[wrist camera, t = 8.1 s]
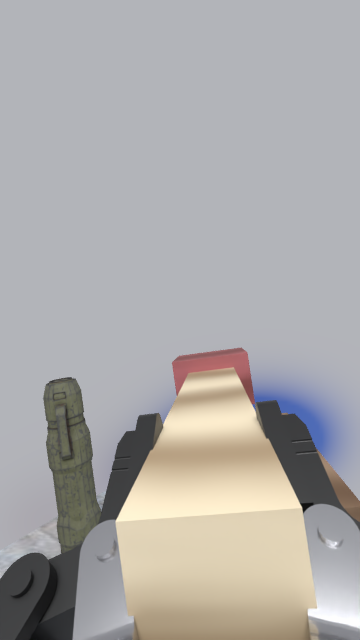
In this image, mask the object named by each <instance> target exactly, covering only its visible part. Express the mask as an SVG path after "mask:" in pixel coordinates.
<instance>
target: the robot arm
mask: <svg viewBox="0 0 360 640" xmlns="http://www.w3.org/2000/svg"><path fill="white" fill-rule="evenodd" d="M255 407H256V418H257V420H258V422H259V424H260V426H261V428H262V430H263V433H264V435H265V437H266V439H269V441H270V443H271V445H272V447H273V449H274V451H275V453H276V455H277V457H278V459H279V461H280V463H281V465H282V468H283V470H284V472H285V474H286V476H287V478H288V480H289V482H290V484H291V486H292V488H293V490H294V492H295V494H296V496H297V498H298V500H299V503H300V505H301V507H302V510H303V517H304V524H305V530H306V537H307V543H308V550H309V556H310V563H311V570H312V576H313V583H314V589H315V596H316V602H317V609H308V635H309V640H360V522H359V521H357V520H356V519H355V518H353V517H352V516H351V515H350V514H349V513H348V512H347V511H346V510H345V509H344V508H343V506H342V505H341V503H340V502H339V500H338V498H337V495H336V493H335V491H334V488H333V486H332V484H331V482H330V479H329V477H328V475H327V472H326V470H325V468H324V466H323V463H322V461H321V459H320V456H319V454H318V453H317V449H316V447H315V445H314V443H313V441H312V438H311V436H310V433H309V431H308V429H307V427H306V425H305V424H304V423H303V422H302V421H301V420H300V419H299V418H298V417H297V416H296V415H295V414H287V415H282V414H281V411H280V408H279V405H278V403H277V401H276V400H273V401H264V402H256V404H255ZM162 429H163V424H162V420H161V417H160V414H159V413H155V414H147V415H140V416H139V417H138V420H137V425H136V430H135V431H127V432H126V433H125V434H124V436H123V437H122V439H121V440H120V442H119V443H118V446H117V450H116V454H115V461H114V463H113V466H112V472H111V475H110V479H109V483H108V487H107V491H106V495H105V499H104V504H103V508H102V512H101V516H100V519H99V522H98V524H97V526H96V527H94V528H93V529H92V530H91V531H90V532H89V534H88V535H87V537H86V538H85V540H84V542H83V543H82V544H80V545H79V546H77V547H75V548H73V549H71V550H69V551H67V552H65V553H62V554H60V555H58V556H56V557H54V558H51V559H49V560H48V559H47V558H46V557H45V556H44V555H43V554H40V553H30V554H27V555H25V556H23V557H21V558H20V559H18V560H17V561H16V562H14V563H13V564H12V565H11V566H10V567H9V568H8V570H7V571H6V572H5V573H4V575H3V576H2V578H1V579H0V640H140V639H139V635H138V631H137V627H136V623H135V618H134V616H128V612H127V604H126V597H125V590H124V582H123V575H122V567H121V560H120V552H119V545H118V537H117V530H116V520H117V518H118V516H119V514H120V512H121V510H122V507H123V505H124V503H125V501H126V499H127V497H128V495H129V493H130V491H131V489H132V487H133V485H134V483H135V481H136V479H137V477H138V475H139V473H140V471H141V469H142V467H143V465H144V463H145V461H146V459H147V457H148V455H149V453H150V451H151V450H153V448H154V446H155V444H156V442H157V440H158V438H159V435H160V433H161V431H162Z"/></svg>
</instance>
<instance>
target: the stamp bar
mask: <svg viewBox="0 0 360 640" xmlns="http://www.w3.org/2000/svg"><path fill="white" fill-rule="evenodd" d="M172 365H173V372H174V379H175V386H176V393H177V398H176V400H175V402H174V404H173V406H172V408H171V410H170V412H169V414H168V416H167V418H166V420H165V422H164V424H163V429H162V431H161V433H160V435H159V438H158V440H157V442H156V444H155V446H154V448H153V450H151V451H150V453H149V455H148V457H147V459H146V461H145V463H144V465H143V467H142V469H141V471H140V473H139V475H138V477H137V479H136V481H135V483H134V485H133V487H132V489H131V491H130V493H129V495H128V497H127V499H126V501H125V503H124V505H123V507H122V510H121V512H120V514H119V516H118V518H117V520H116V530H117V537H118V545H119V552H120V560H121V567H122V575H123V582H124V590H125V597H126V604H127V612H128V616H134V618H135V623H136V627H137V631H138V635H139V639H140V640H309V635H308V609H317V602H316V596H315V589H314V583H313V576H312V570H311V563H310V556H309V550H308V543H307V537H306V530H305V524H304V517H303V510H302V507H301V505H300V503H299V500H298V498H297V496H296V494H295V492H294V490H293V488H292V486H291V484H290V482H289V480H288V478H287V476H286V474H285V472H284V470H283V468H282V465H281V463H280V461H279V459H278V457H277V455H276V453H275V451H274V449H273V447H272V445H271V443H270V441H269V439H266V437H265V435H264V433H263V430H262V428H261V426H260V424H259V422H258V420H257V418H256V412H255V410H254V408H253V406H252V404H255V401H254V394H253V387H252V381H251V374H250V368H249V360H248V354H247V352H246V351H245V350H243V349H242V348H236V349H228V350H220V351H212V352H206V353H197V354H190V355H183V356H179V357H177V358H176V359H175V360H174V361H173V362H172Z"/></svg>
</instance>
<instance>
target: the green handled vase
mask: <svg viewBox="0 0 360 640" xmlns="http://www.w3.org/2000/svg"><path fill="white" fill-rule="evenodd" d="M44 406H45V413H46V420H47V421H48V428H47V429H48V436H47V441H46V446H47V453H48V461H49V467H50V469H51V470H52V472H53V479H54V487H55V494H56V502H57V509H58V522H57V532H58V539H59V543H60V544H61V554H62V553H65V552H67V551H69V550H71V549H73V548H75V547H77V546H79V545H80V544H82V543H83V542H84V540H85V538H86V537H87V535H88V534H89V532H90V531H91V530H92V529H93V528H94V527H96V526H97V524H98V522H99V519H100V516H101V510H100V507H99V505H98V503H97V499H96V492H95V484H94V477H93V470H92V462H91V460H92V456H93V453H92V445H91V438H90V432H89V429H88V427H87V425H86V423H85V418H84V416H83V412H84V409H83V401H82V394H81V389H80V387H79V385H78V383H77V381H76V379H72V378H71V377H68V378H61V379H56V380H52V381H50V382H49V383H48V384H46V387H45V392H44Z"/></svg>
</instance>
